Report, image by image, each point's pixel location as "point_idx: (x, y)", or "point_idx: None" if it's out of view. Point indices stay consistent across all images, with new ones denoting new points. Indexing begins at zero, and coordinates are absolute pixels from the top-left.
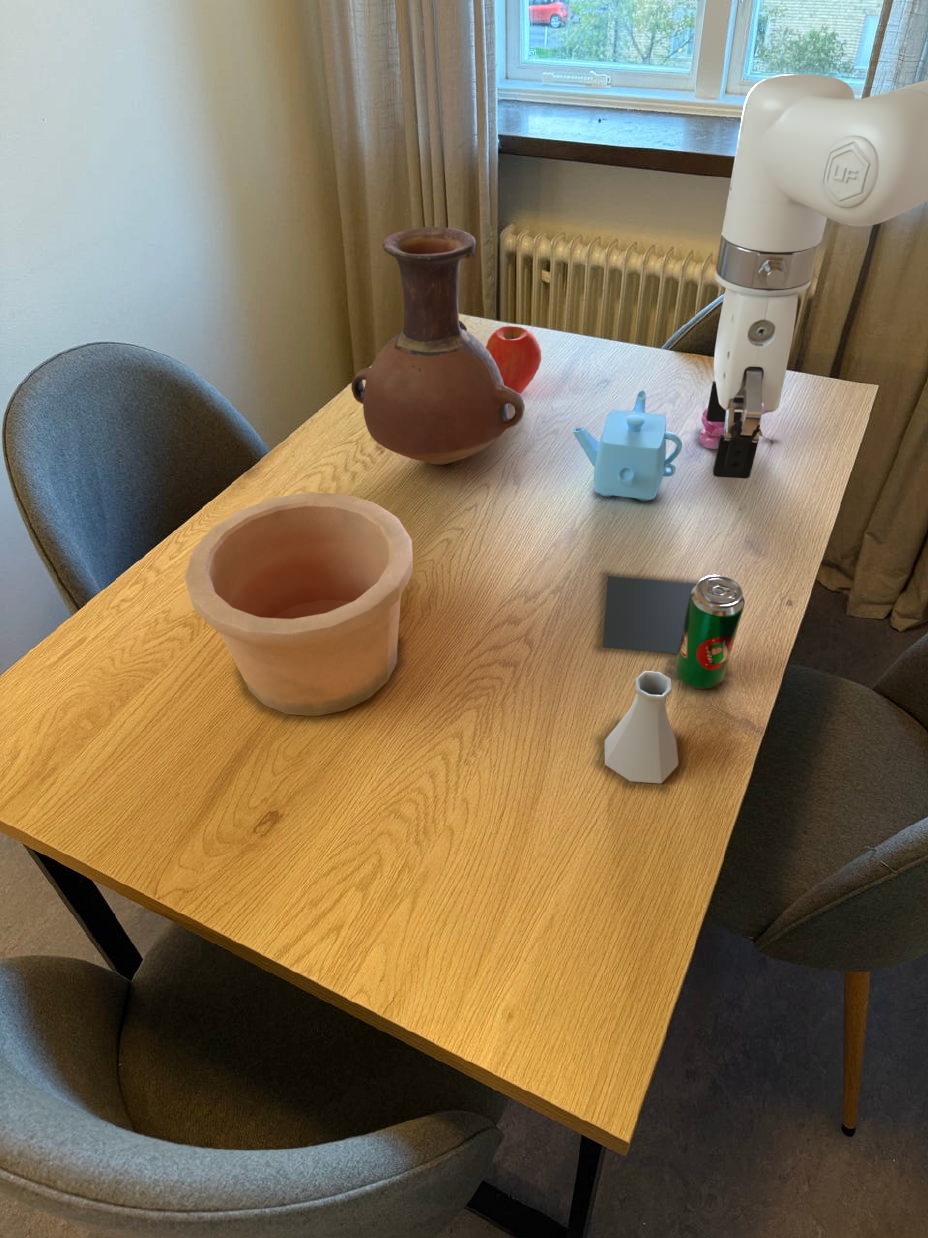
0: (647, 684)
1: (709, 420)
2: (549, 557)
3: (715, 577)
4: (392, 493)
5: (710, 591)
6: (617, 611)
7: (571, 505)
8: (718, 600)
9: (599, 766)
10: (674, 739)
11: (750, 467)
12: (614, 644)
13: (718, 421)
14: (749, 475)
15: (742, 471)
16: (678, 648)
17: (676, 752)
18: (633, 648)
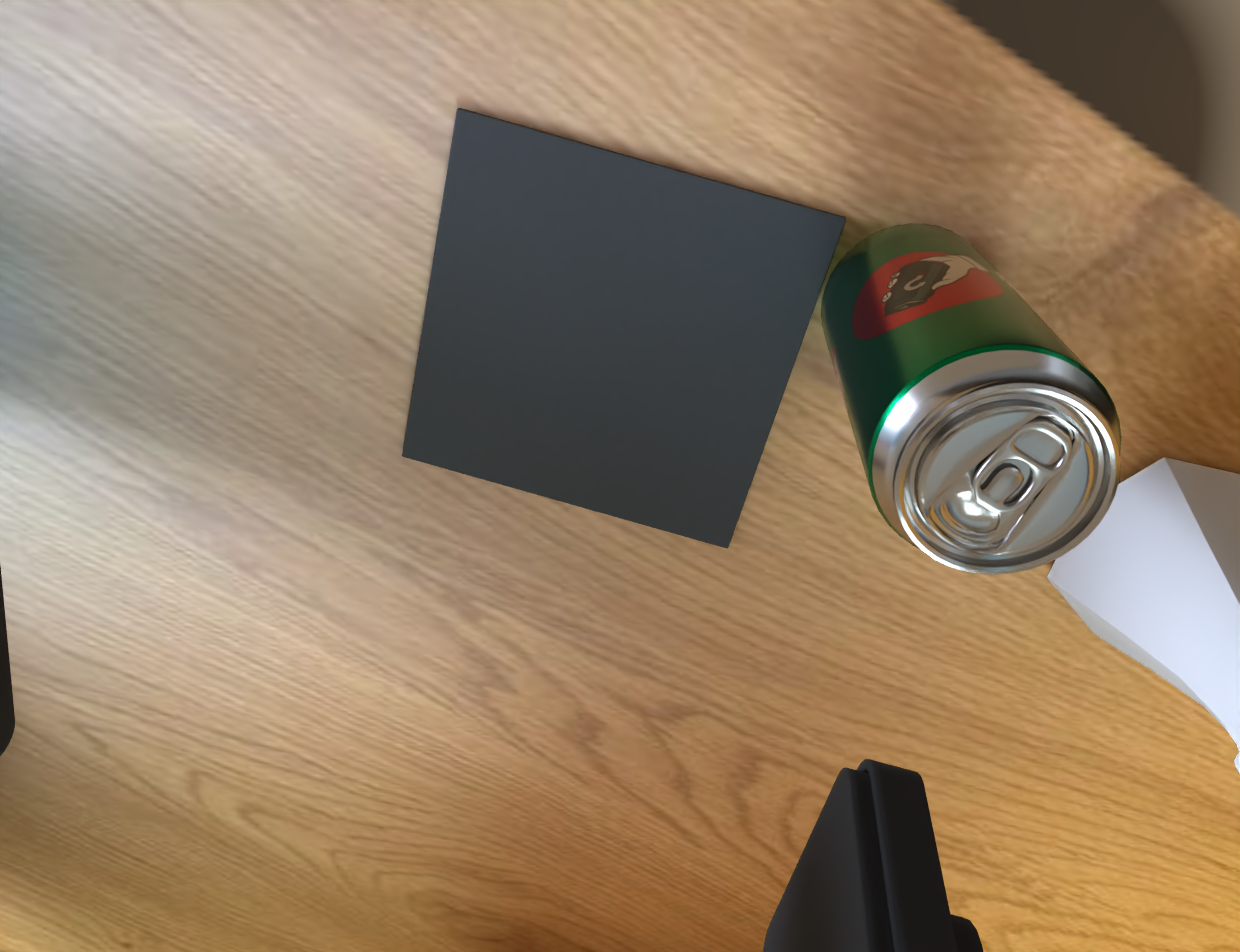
0: (1236, 725)
1: (8, 734)
2: (308, 592)
3: (908, 469)
4: (56, 890)
5: (989, 513)
6: (577, 471)
7: (30, 474)
8: (1072, 510)
9: None
10: (1200, 492)
11: (926, 852)
12: (724, 516)
13: (8, 674)
14: (921, 784)
15: (969, 923)
16: (775, 332)
17: (1229, 486)
18: (750, 467)
